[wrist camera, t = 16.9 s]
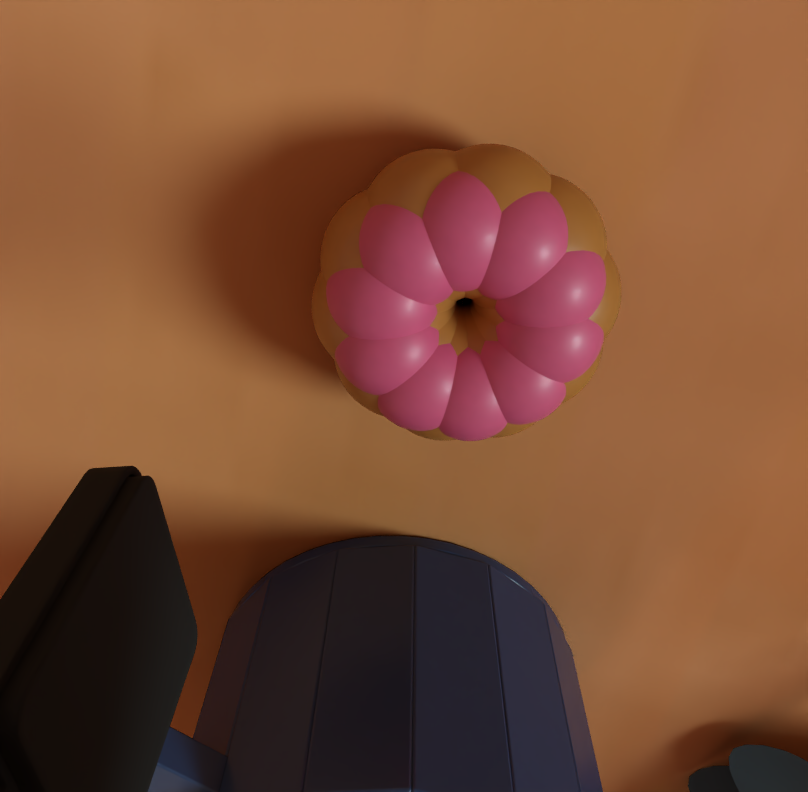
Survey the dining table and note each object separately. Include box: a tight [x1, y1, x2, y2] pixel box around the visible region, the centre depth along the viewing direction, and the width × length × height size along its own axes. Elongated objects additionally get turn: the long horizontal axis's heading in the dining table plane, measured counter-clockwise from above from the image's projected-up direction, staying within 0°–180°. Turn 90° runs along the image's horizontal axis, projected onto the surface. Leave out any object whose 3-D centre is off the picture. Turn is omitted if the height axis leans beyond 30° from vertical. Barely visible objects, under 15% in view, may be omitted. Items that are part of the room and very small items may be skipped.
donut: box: [311, 144, 621, 441], centre depth 18 cm, size 7×7×4 cm
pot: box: [148, 536, 603, 792], centre depth 23 cm, size 12×17×8 cm
